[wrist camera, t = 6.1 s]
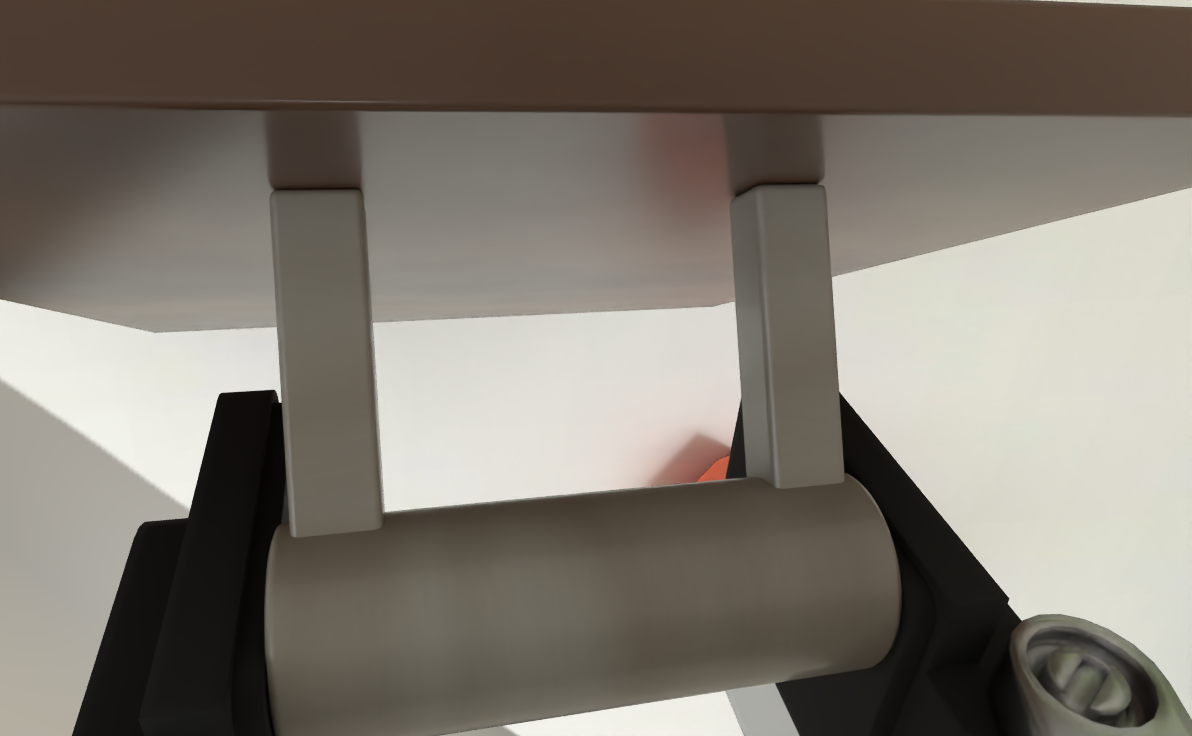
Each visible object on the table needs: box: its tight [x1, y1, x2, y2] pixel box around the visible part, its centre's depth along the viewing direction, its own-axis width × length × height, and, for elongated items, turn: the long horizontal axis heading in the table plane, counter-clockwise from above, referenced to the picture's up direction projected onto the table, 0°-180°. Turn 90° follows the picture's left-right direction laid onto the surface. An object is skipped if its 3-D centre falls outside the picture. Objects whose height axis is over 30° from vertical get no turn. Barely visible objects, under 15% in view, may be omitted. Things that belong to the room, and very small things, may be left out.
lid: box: [0, 0, 1192, 736], centre depth 13 cm, size 17×14×5 cm
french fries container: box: [696, 455, 799, 736], centre depth 35 cm, size 5×11×18 cm, turn 49°
